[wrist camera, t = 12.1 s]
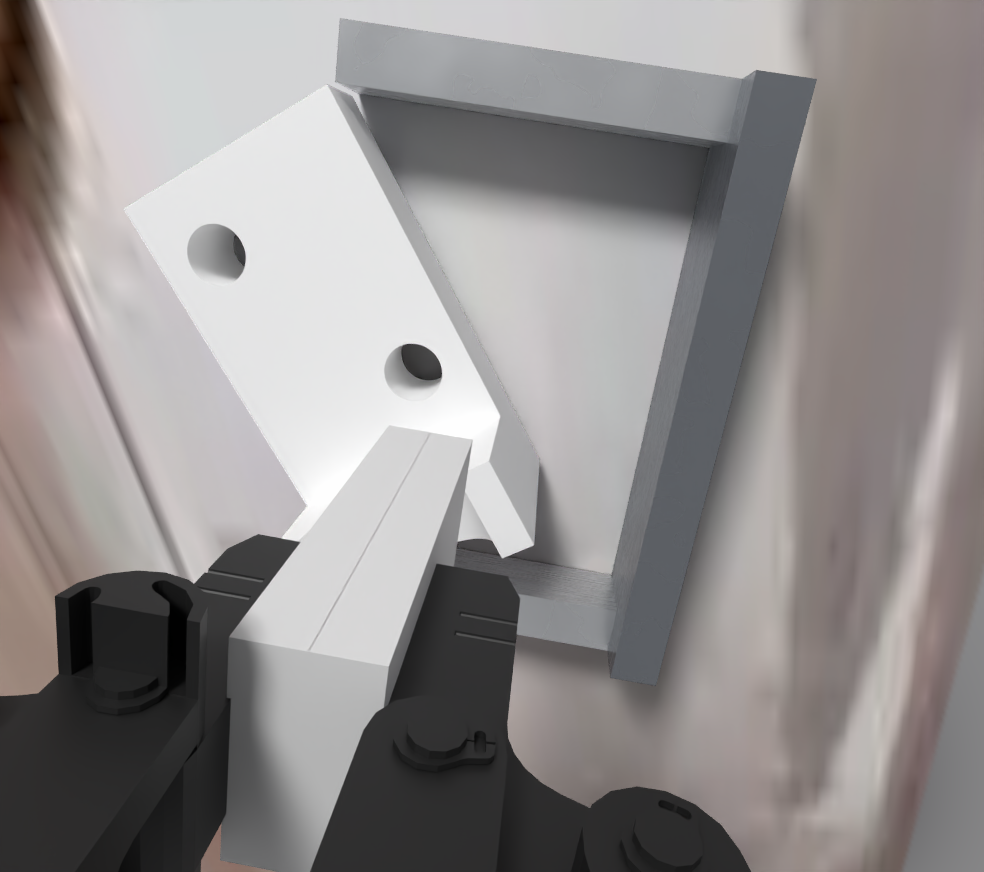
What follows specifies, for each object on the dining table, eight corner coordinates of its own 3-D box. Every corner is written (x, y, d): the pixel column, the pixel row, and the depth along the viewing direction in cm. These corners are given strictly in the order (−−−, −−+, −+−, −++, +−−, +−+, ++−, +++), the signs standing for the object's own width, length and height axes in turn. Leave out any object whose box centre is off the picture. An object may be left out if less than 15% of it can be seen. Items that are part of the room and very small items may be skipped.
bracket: (540, 450, 26) (534, 545, 19) (372, 525, 28) (308, 639, 21) (360, 100, 23) (273, 58, 16) (181, 206, 25) (29, 212, 18)
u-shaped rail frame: (320, 562, 28) (283, 619, 24) (363, 36, 22) (323, 4, 19) (642, 618, 28) (655, 685, 24) (772, 98, 22) (816, 79, 18)
